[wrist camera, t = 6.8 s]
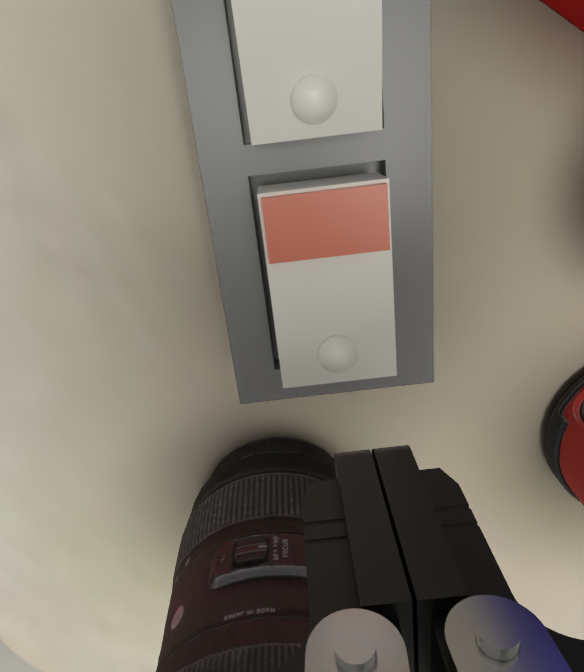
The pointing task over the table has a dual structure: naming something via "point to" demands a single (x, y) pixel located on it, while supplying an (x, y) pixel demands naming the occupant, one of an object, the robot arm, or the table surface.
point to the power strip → (309, 164)
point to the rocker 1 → (310, 67)
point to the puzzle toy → (569, 10)
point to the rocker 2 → (330, 277)
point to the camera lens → (245, 562)
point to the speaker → (568, 440)
